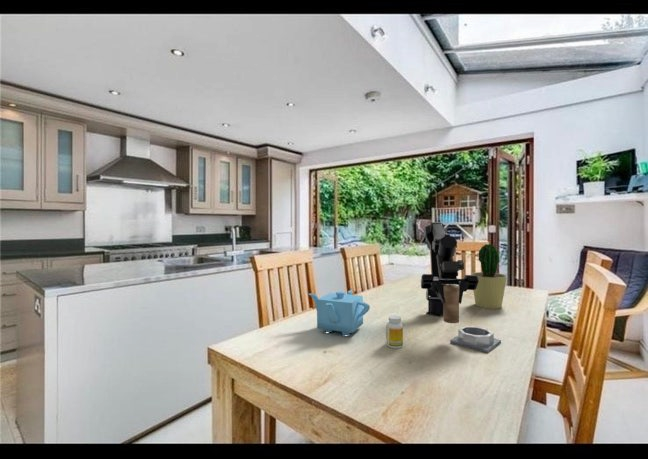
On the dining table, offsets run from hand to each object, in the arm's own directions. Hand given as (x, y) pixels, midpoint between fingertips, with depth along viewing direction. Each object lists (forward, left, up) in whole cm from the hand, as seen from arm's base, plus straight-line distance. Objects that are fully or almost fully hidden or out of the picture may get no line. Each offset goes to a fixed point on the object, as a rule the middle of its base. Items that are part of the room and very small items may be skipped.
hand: (452, 302), depth 113 cm
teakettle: (-36, -18, -14) cm, 43 cm away
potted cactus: (-9, +58, -14) cm, 60 cm away
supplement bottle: (-12, -16, -14) cm, 24 cm away
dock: (+6, +5, -13) cm, 16 cm away
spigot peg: (-1, +1, -7) cm, 7 cm away
